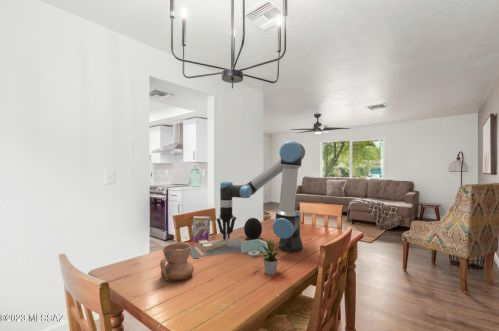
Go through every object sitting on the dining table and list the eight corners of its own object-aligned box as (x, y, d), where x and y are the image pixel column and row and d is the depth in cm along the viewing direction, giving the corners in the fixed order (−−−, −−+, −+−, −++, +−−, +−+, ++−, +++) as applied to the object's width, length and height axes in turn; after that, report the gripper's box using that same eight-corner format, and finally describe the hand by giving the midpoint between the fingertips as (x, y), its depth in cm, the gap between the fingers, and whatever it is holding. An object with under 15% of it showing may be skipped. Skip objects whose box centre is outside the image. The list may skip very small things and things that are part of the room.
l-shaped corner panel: (241, 254, 151) (241, 241, 151) (259, 251, 156) (259, 239, 156) (250, 261, 140) (250, 247, 140) (269, 257, 145) (269, 244, 145)
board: (252, 249, 157) (252, 248, 157) (194, 259, 141) (194, 258, 141) (238, 240, 177) (238, 239, 177) (184, 247, 161) (184, 247, 161)
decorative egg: (265, 238, 181) (265, 217, 181) (256, 243, 170) (256, 220, 170) (249, 236, 187) (250, 215, 187) (240, 240, 177) (240, 218, 177)
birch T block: (229, 250, 154) (229, 243, 154) (205, 254, 148) (205, 247, 148) (221, 243, 168) (221, 237, 168) (198, 246, 161) (198, 240, 161)
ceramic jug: (180, 267, 130) (179, 239, 130) (202, 273, 122) (201, 243, 122) (149, 281, 115) (149, 249, 115) (172, 289, 107) (171, 255, 107)
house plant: (249, 267, 129) (249, 235, 129) (274, 264, 134) (274, 232, 134) (261, 279, 116) (261, 243, 116) (288, 275, 121) (288, 240, 121)
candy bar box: (192, 242, 173) (192, 217, 173) (194, 240, 178) (194, 216, 178) (208, 242, 172) (208, 217, 172) (210, 240, 177) (210, 216, 177)
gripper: (233, 204, 168) (233, 241, 168) (214, 206, 162) (214, 244, 162) (238, 206, 161) (238, 244, 161) (218, 208, 155) (218, 247, 155)
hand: (226, 244), depth 162 cm, fingers closed
